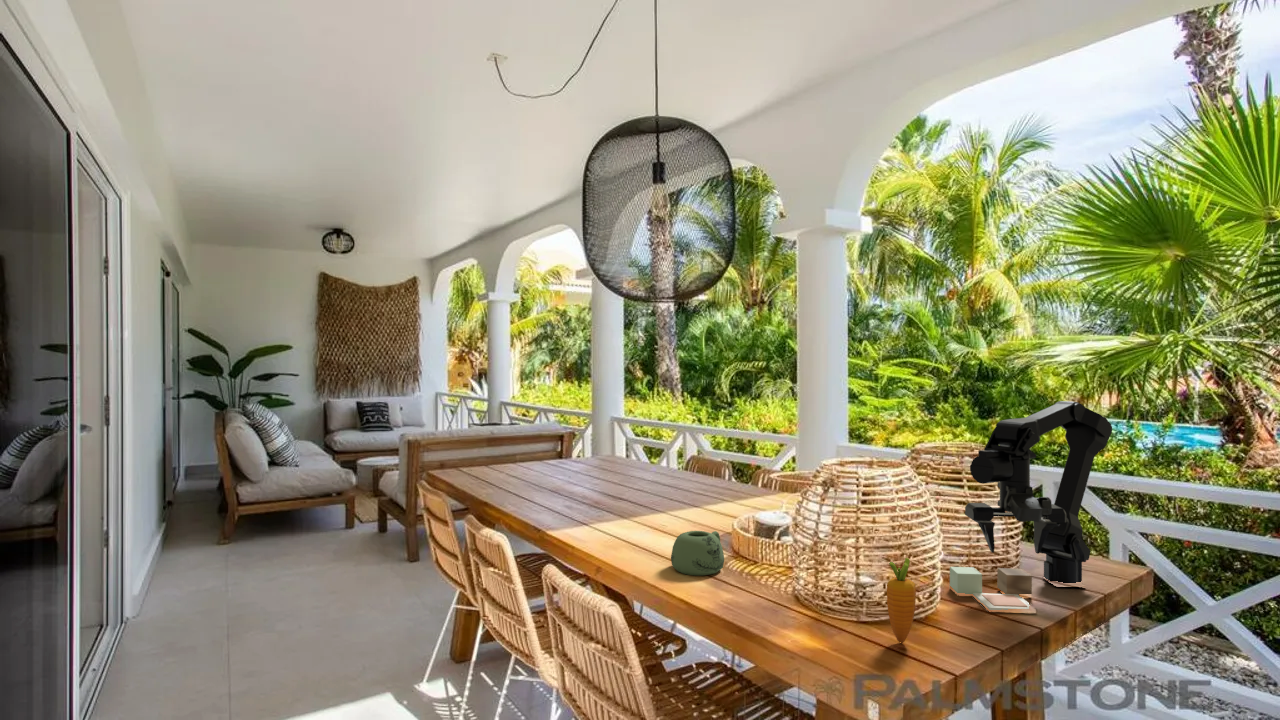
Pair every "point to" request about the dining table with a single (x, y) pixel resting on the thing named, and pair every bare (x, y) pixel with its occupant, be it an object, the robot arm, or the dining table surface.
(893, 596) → the carrot
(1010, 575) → the walnut block
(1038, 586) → the dining table surface
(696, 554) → the green animal planter
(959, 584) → the sage block
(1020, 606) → the bordered square coaster
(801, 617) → the dining table surface
